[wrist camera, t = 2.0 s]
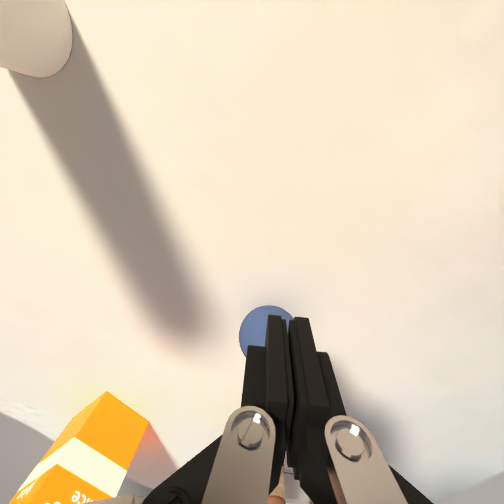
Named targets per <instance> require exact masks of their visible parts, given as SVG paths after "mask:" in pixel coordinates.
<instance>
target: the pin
mask: <svg viewBox="0 0 504 504" xmlns="http://www.w3.org/2000/svg"><path fill="white" fill-rule="evenodd" d="M267 504H286V501H285V485H284V464H283V466H282V469H281V474H280V480H279V484H278V486H277V487H276V488H275V489H274V490H273V491H272V492H271V494H270V495H269V496H268V501H267Z"/></svg>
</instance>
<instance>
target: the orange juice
mask: <svg viewBox="0 0 504 504" xmlns="http://www.w3.org/2000/svg"><path fill="white" fill-rule="evenodd" d="M148 423H149V421H148V420H146V419H145V418H143V417H142V416H141V415H139V414H138V413H136V412H135V411H134V410H132V409H131V408H129V407H128V406H127V405H125V404H124V403H122V402H121V401H120V400H118V399H117V398H115V397H114V396H113V395H111V394H110V393H109V392H107V391H106V392H105V393H104V394H102V395H101V396H100V397H99V398H97V399H96V400H95V401H94V402H92V403H91V404H90V405H88V406H87V407H86V408H85V409H83V410H82V411H81V412H80V413H78V414H77V415H76V416H75V417H73V418H72V420H71V421H70V422H69V424H68V425H67V426H66V428H65V429H64V430H63V432H62V433H61V434H60V436H59V437H58V438H57V440H56V441H55V442H54V444H53V445H52V447H51V448H50V449H49V451H48V452H47V453H46V455H45V456H44V457H43V459H42V460H41V462H40V463H39V464H38V465H37V466H36V467H35V469H34V470H33V471H32V473H31V474H30V475H29V477H28V478H27V479H26V481H25V482H24V484H23V485H22V486H21V488H20V489H19V490H18V492H17V494H16V495H15V496H14V498H13V499H12V500H11V502H10V503H9V504H80V503H85V502H91V501H96V500H102V499H108V498H113V497H116V495H117V493H118V491H119V488H120V486H121V484H122V481H123V479H124V477H125V475H126V473H127V470H128V467H129V465H130V463H131V461H132V458H133V456H134V454H135V452H136V450H137V447H138V445H139V443H140V441H141V439H142V436H143V434H144V432H145V430H146V427H147V425H148Z"/></svg>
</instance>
